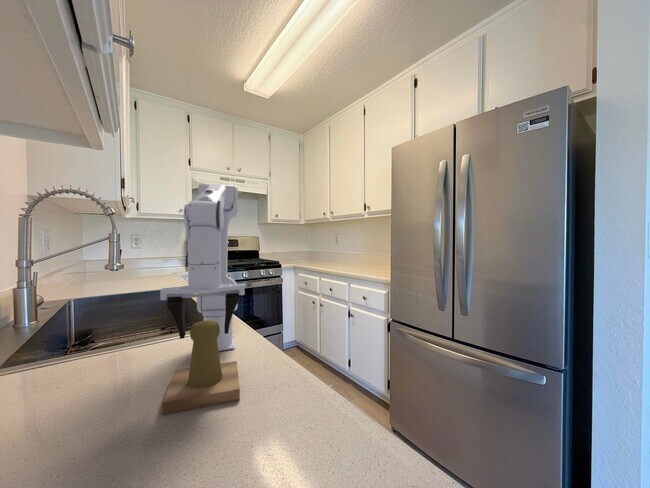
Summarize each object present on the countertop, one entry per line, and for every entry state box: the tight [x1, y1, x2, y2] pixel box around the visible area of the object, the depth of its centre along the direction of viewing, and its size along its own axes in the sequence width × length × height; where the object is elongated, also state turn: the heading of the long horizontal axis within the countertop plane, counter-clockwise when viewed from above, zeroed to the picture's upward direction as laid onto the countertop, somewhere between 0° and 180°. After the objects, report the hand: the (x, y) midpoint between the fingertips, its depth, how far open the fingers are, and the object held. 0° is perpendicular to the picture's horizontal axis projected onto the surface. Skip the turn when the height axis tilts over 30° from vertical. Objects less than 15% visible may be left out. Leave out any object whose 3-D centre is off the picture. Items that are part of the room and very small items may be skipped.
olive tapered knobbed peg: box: [188, 320, 222, 388], centre depth 52 cm, size 6×6×11 cm
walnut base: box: [162, 360, 241, 416], centre depth 52 cm, size 12×12×2 cm
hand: (205, 334), depth 52 cm, fingers open, 7 cm apart
